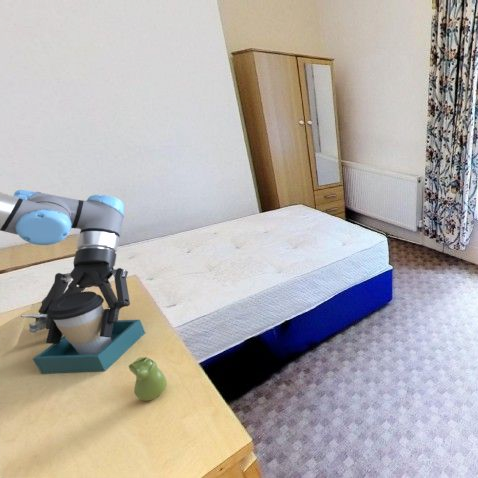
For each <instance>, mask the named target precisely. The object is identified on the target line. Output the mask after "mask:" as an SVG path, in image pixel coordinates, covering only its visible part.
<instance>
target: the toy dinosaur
mask: <svg viewBox="0 0 478 478" xmlns="http://www.w3.org/2000/svg"><path fill="white" fill-rule="evenodd" d="M45 298H46V296H45V297H44V298H43V299H42V300H41V305H42V304H43V302H44V300H45ZM20 317H21V318H30V319H35V322H32V323H31V322H30V323H28V326H29V332H30V333H31V334H36V333H39V332H40V331H42V330H44V329H46V325H47V321H48V317H47V314H42V313H39V314H25V315H20ZM61 337H64V335H63V334H62V335H61Z"/></svg>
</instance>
